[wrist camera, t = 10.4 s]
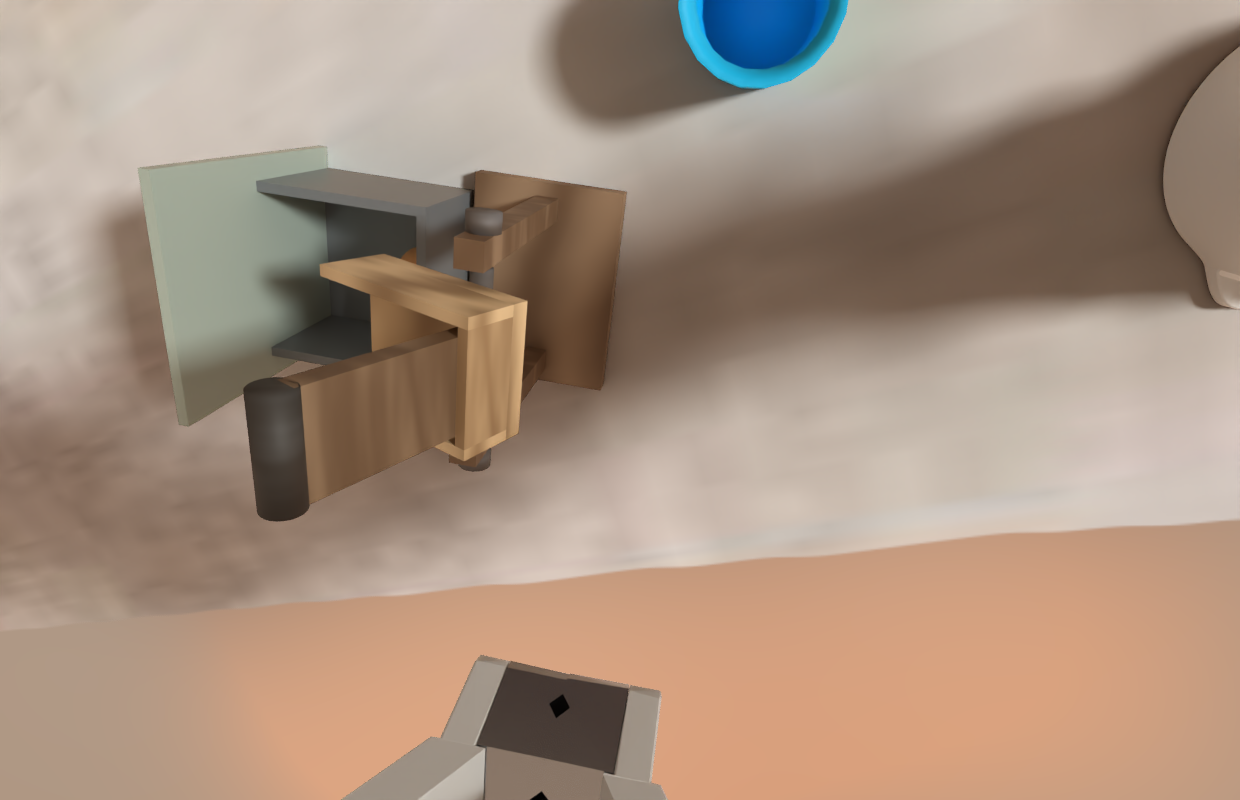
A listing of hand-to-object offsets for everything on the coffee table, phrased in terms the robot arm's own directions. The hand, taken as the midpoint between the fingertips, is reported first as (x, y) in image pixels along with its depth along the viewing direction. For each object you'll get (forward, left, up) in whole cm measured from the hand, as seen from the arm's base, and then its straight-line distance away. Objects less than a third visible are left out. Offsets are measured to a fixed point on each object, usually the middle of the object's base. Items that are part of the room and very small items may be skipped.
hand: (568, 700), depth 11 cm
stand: (+10, +5, -39) cm, 41 cm away
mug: (-1, -15, -39) cm, 42 cm away
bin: (+21, +5, -39) cm, 45 cm away
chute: (+11, +5, -26) cm, 29 cm away
